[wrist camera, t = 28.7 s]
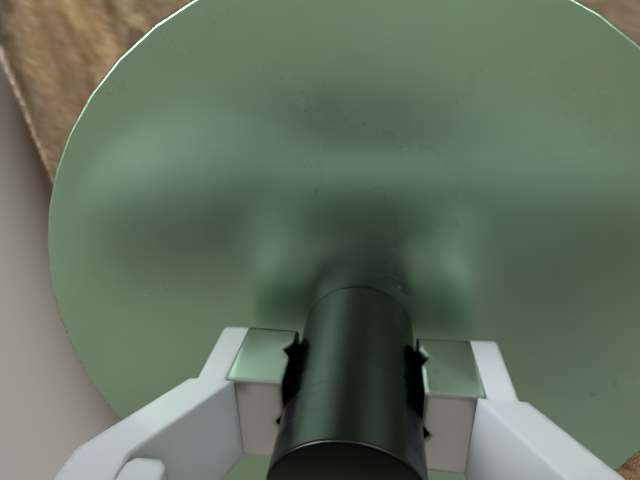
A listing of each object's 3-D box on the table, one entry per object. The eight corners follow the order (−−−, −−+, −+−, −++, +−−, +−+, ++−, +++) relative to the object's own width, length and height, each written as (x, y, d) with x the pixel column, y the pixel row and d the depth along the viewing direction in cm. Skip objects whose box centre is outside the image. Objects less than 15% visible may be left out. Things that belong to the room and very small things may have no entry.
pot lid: (601, 522, 13) (721, 787, 9) (139, 475, 15) (31, 675, 10) (826, -61, 7) (1664, -229, 2) (-2, -26, 9) (-422, -87, 4)
